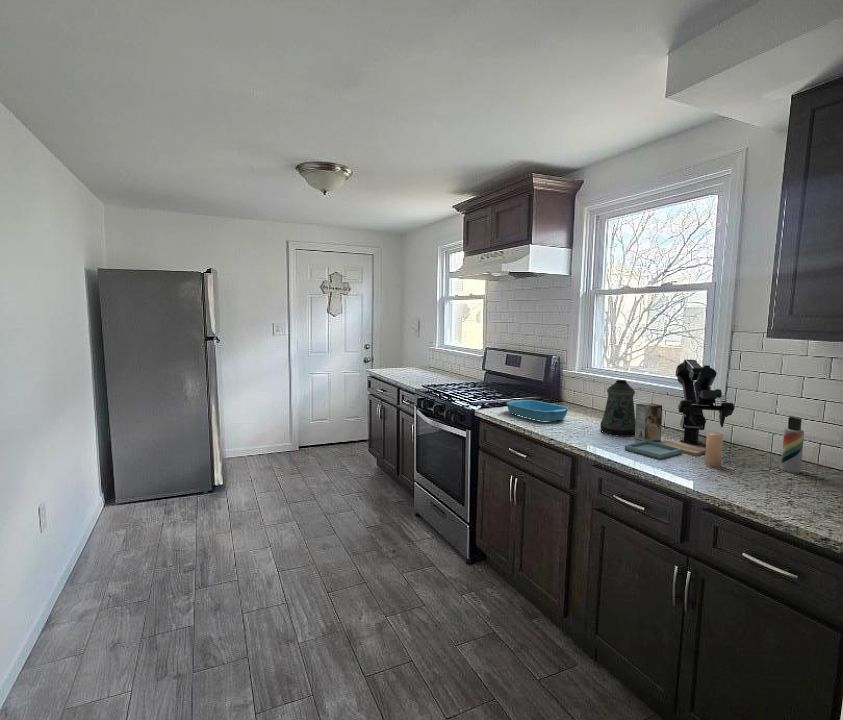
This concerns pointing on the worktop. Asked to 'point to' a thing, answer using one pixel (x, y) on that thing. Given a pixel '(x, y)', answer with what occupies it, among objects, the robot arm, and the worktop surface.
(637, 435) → the coffee box
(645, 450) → the tray
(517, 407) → the casserole dish
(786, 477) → the worktop surface
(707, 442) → the tan glossy round part
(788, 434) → the lotion bottle
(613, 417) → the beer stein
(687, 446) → the tan board
